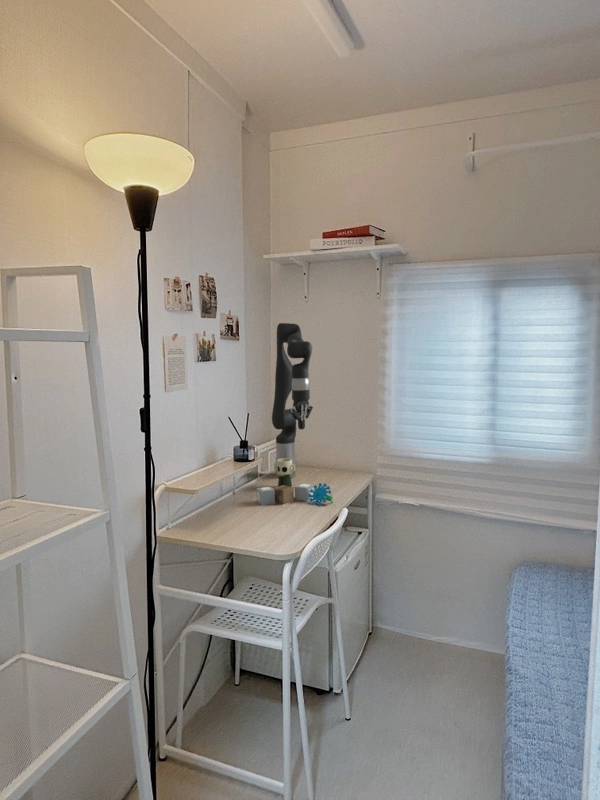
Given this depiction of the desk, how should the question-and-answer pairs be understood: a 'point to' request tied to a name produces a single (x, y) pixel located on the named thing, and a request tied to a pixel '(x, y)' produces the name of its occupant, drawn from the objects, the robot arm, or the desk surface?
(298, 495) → the grey block back
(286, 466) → the character mug
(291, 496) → the walnut block
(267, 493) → the grey block front
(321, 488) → the gear
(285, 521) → the desk surface
